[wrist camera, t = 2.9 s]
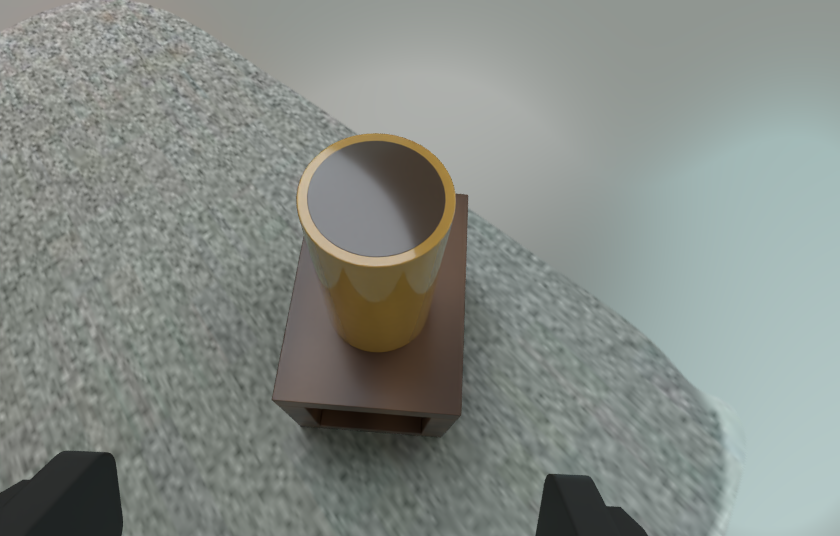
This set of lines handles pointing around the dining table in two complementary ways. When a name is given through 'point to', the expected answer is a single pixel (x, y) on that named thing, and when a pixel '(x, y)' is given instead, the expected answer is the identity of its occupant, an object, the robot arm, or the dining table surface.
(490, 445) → the dining table surface
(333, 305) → the tumbler
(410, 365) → the shelf
